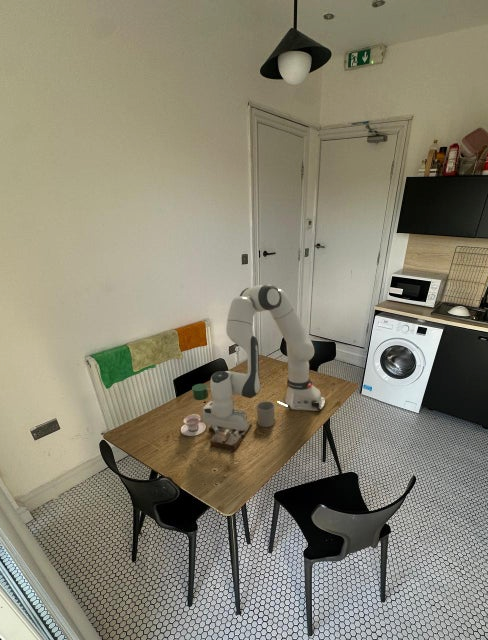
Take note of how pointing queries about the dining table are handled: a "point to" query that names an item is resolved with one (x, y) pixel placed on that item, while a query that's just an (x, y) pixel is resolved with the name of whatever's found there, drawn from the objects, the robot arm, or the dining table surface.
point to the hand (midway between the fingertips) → (226, 433)
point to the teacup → (192, 425)
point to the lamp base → (232, 430)
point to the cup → (265, 414)
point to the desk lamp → (200, 391)
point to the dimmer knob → (225, 435)
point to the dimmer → (229, 444)
